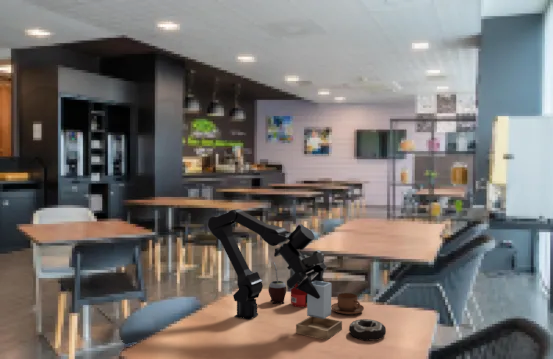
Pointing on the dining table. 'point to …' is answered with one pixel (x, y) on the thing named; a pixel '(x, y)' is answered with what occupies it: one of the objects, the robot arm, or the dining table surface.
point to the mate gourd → (277, 290)
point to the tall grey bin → (320, 300)
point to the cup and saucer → (347, 304)
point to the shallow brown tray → (319, 327)
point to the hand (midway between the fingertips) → (323, 296)
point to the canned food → (298, 297)
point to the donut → (367, 329)
